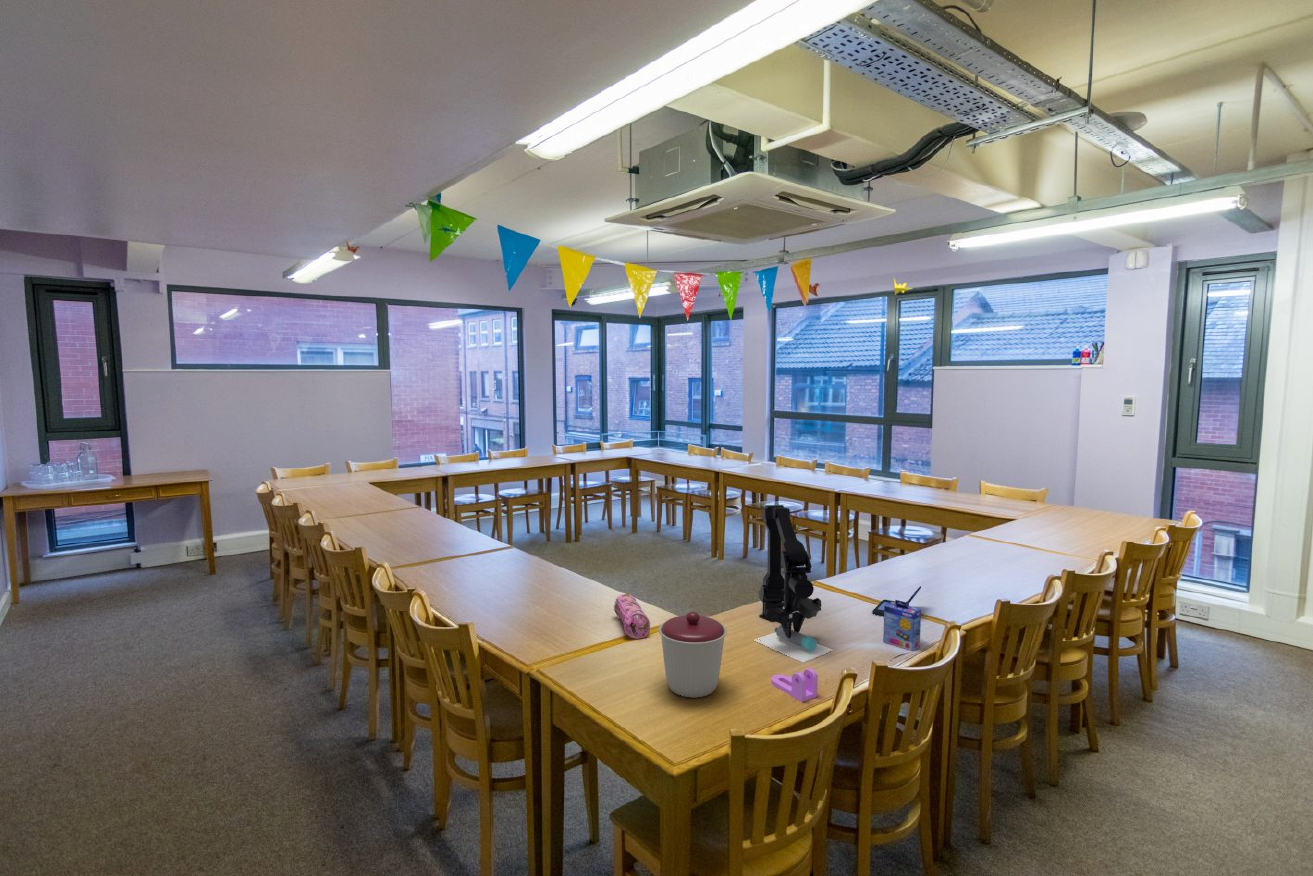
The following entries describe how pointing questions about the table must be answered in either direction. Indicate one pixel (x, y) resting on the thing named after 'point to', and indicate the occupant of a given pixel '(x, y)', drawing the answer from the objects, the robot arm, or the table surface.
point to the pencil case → (632, 616)
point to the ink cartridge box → (902, 625)
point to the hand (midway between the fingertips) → (792, 636)
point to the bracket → (798, 684)
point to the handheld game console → (880, 608)
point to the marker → (797, 639)
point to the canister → (692, 653)
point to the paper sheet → (792, 648)
